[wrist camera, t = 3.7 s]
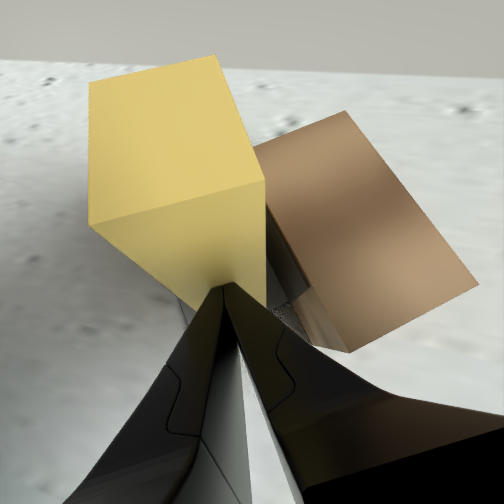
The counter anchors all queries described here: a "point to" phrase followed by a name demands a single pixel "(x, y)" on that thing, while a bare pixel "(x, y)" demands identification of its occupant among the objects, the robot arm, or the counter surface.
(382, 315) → the brown box
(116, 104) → the yellow block
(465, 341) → the counter surface
